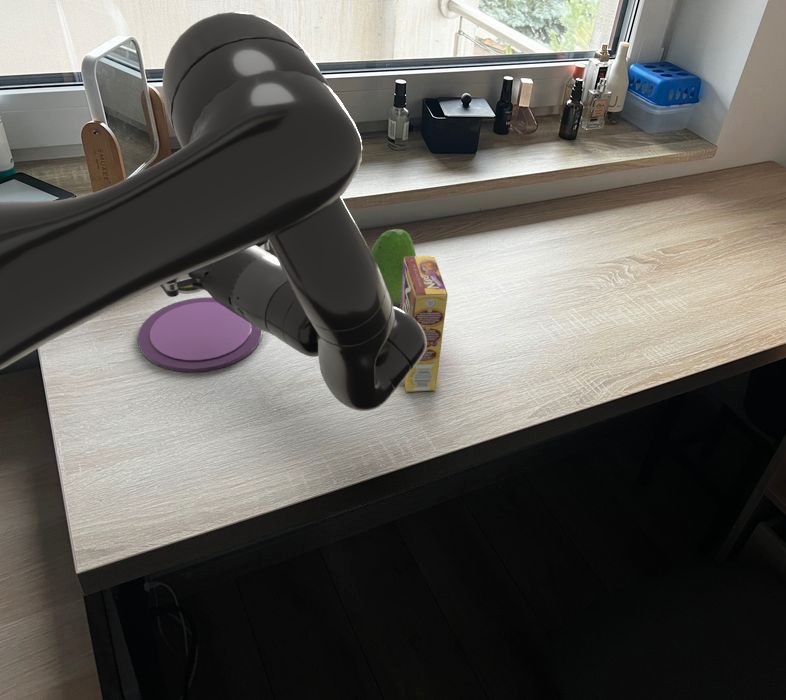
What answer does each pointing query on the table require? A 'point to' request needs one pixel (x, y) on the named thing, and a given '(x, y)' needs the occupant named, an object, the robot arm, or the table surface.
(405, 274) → the candy box
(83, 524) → the table surface
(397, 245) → the avocado
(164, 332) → the plum dish
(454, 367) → the table surface
